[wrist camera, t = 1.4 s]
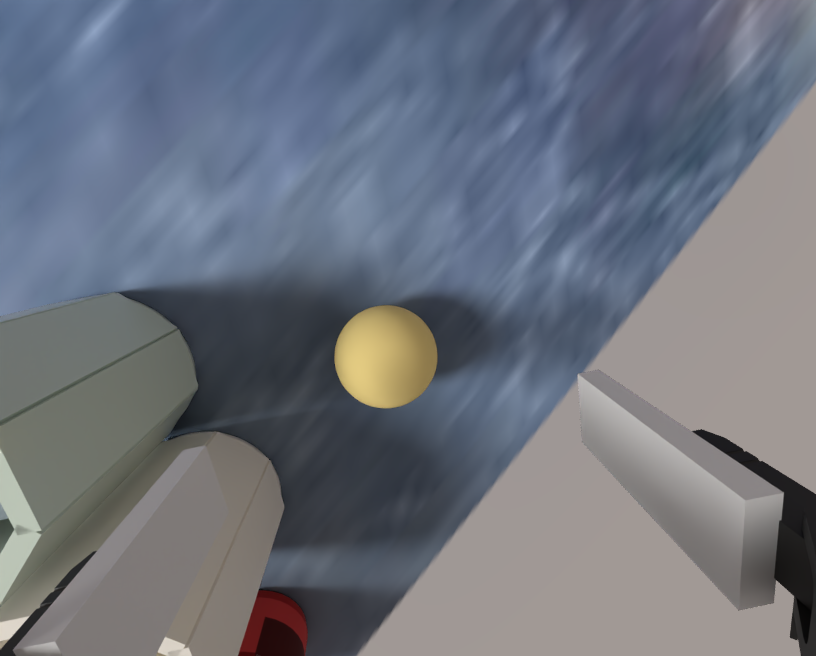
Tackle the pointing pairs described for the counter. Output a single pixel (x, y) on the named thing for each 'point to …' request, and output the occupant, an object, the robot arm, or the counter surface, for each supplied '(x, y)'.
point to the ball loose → (385, 356)
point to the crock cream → (223, 566)
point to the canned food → (275, 627)
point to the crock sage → (79, 415)
